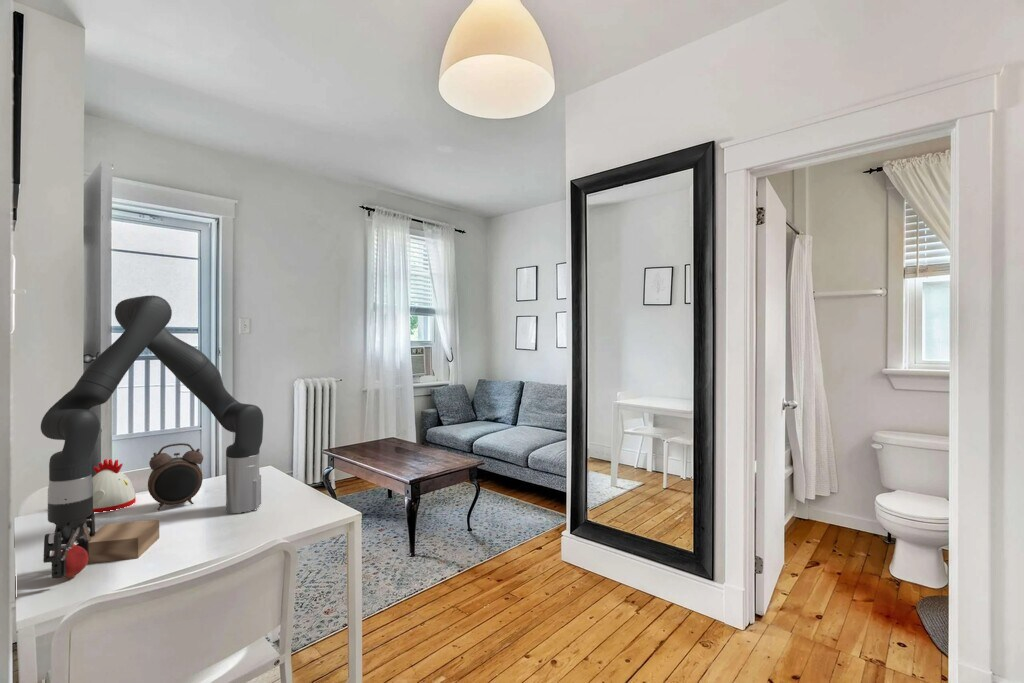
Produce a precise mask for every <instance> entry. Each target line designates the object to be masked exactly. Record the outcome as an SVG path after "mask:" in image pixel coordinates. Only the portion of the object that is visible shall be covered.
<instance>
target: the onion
mask: <svg viewBox="0 0 1024 683" xmlns="http://www.w3.org/2000/svg"><path fill="white" fill-rule="evenodd" d="M62 552H63V550H61V554H62ZM88 559H89V558H88V553H87V551H86V550H85V549H84V548H82V547H80V546H77V544H75V543H74V544H73V547H72V548H71V549H70V550H69V551H68V553H67V556H66V575H65V576H64V577H65V578H67V579H72V578H74V577H75V576H77V575H78V574H79V573H81V572H82V571H83V570H84V569H85V568H86V567H87V565H88V564H89V563H88ZM64 577H63V578H64Z"/></svg>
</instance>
